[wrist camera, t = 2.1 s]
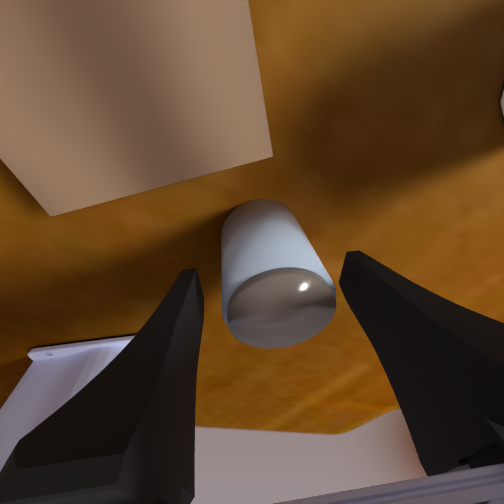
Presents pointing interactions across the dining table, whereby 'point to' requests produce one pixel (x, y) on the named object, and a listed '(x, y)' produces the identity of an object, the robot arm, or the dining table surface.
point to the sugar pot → (272, 278)
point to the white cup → (502, 102)
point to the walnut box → (126, 95)
